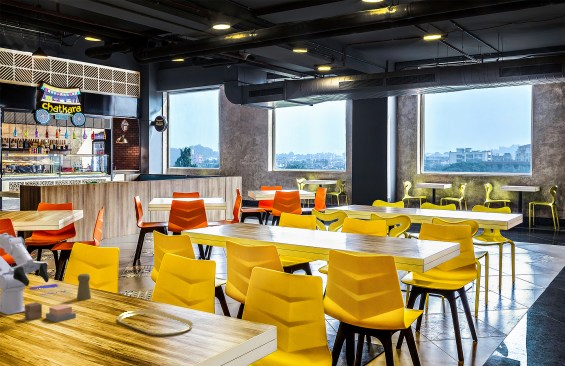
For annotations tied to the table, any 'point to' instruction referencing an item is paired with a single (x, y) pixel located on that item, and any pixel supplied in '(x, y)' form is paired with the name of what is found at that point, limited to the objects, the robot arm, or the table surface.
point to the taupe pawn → (83, 287)
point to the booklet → (45, 287)
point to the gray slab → (60, 317)
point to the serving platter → (156, 314)
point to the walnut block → (33, 311)
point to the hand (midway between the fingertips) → (37, 282)
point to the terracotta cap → (60, 310)
